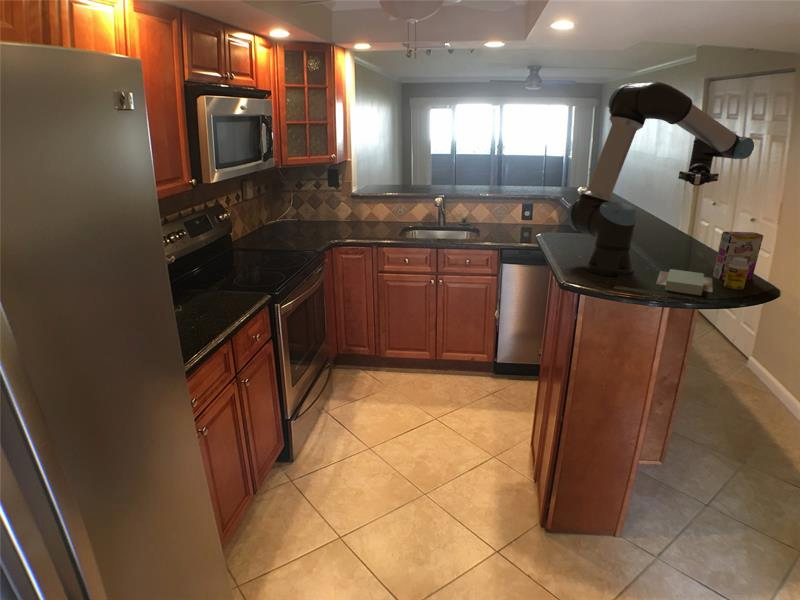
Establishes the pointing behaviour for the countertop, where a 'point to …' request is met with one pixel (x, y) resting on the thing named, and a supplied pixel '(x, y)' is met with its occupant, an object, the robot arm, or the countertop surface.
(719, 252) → the candy bar box
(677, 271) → the pale green rectangular block
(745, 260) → the supplement bottle
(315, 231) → the countertop surface
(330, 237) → the countertop surface
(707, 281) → the board
